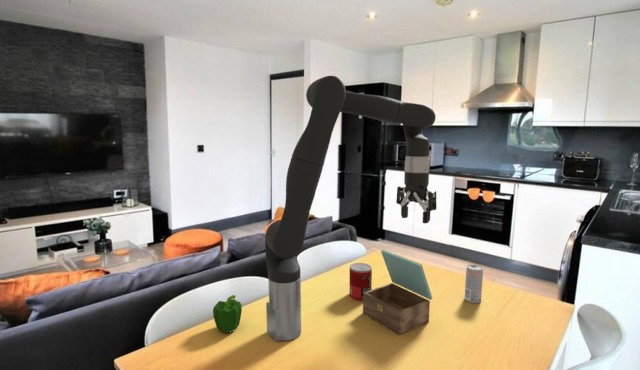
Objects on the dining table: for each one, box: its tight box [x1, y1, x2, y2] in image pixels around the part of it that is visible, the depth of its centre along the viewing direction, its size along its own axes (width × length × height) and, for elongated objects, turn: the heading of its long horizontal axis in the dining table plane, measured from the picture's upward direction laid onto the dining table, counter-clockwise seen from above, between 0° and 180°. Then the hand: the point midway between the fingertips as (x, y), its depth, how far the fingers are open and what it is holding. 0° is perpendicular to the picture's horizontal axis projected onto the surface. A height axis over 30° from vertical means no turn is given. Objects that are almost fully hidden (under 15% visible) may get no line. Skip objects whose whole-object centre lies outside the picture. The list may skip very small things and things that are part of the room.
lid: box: [380, 249, 434, 301], centre depth 117 cm, size 14×16×1 cm
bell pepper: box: [212, 294, 243, 333], centre depth 110 cm, size 8×8×10 cm
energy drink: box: [464, 264, 484, 304], centre depth 128 cm, size 5×5×12 cm
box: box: [362, 282, 431, 336], centre depth 116 cm, size 13×16×7 cm
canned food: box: [349, 262, 373, 301], centre depth 131 cm, size 8×8×11 cm
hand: (414, 220), depth 119 cm, fingers open, 8 cm apart
